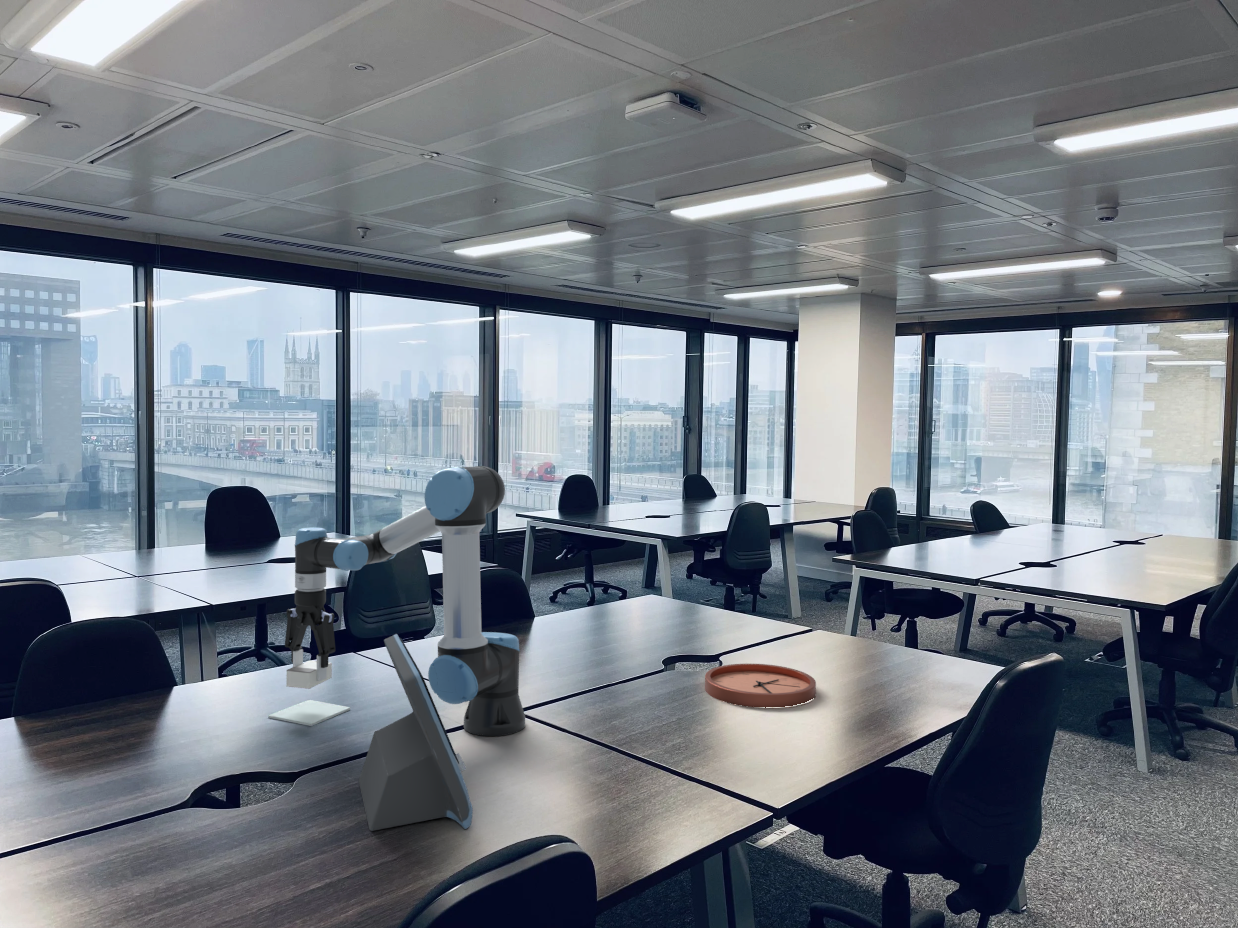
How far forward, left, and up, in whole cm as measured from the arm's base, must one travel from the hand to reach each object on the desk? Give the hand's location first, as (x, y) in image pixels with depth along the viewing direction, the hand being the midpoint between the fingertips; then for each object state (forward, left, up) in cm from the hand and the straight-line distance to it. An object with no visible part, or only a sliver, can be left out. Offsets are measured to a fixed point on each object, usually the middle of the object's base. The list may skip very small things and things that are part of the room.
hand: (309, 677), depth 221 cm
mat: (0, 0, -9) cm, 9 cm away
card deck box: (0, 0, -1) cm, 1 cm away
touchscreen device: (-55, +30, -10) cm, 63 cm away
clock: (-99, -72, -10) cm, 123 cm away
